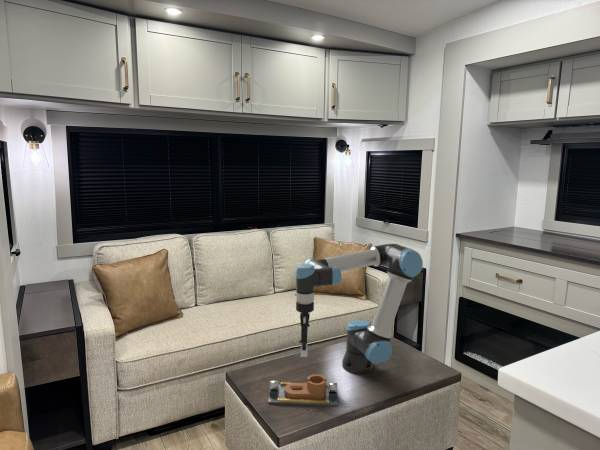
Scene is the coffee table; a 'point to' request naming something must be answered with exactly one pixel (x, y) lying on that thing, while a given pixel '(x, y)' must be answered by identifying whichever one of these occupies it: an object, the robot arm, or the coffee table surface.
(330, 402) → the coupling bench
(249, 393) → the coffee table surface
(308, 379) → the bracket
